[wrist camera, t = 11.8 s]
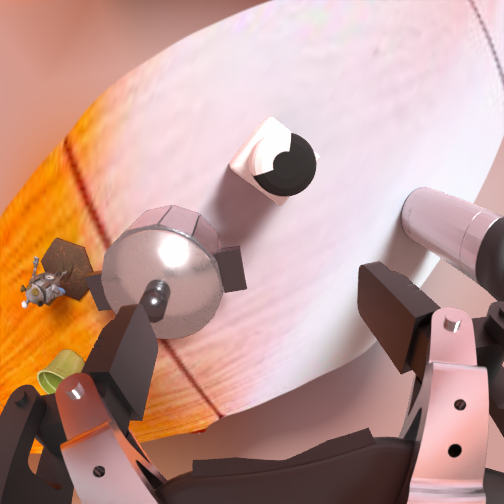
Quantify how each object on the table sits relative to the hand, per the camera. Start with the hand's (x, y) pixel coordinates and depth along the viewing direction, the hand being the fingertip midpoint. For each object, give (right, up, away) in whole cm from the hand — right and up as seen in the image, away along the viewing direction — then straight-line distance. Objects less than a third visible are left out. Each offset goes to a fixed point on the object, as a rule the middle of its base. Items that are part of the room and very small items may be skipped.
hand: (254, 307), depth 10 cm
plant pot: (-36, -20, +35) cm, 54 cm away
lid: (-10, -2, +20) cm, 23 cm away
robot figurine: (-29, -1, +28) cm, 40 cm away
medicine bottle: (+2, +14, +25) cm, 29 cm away
